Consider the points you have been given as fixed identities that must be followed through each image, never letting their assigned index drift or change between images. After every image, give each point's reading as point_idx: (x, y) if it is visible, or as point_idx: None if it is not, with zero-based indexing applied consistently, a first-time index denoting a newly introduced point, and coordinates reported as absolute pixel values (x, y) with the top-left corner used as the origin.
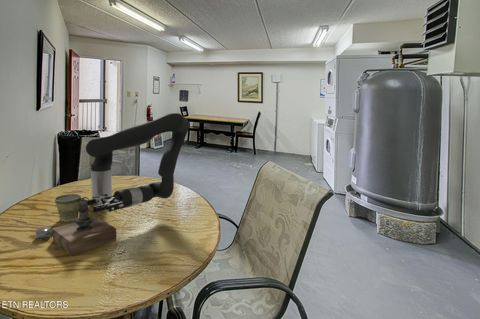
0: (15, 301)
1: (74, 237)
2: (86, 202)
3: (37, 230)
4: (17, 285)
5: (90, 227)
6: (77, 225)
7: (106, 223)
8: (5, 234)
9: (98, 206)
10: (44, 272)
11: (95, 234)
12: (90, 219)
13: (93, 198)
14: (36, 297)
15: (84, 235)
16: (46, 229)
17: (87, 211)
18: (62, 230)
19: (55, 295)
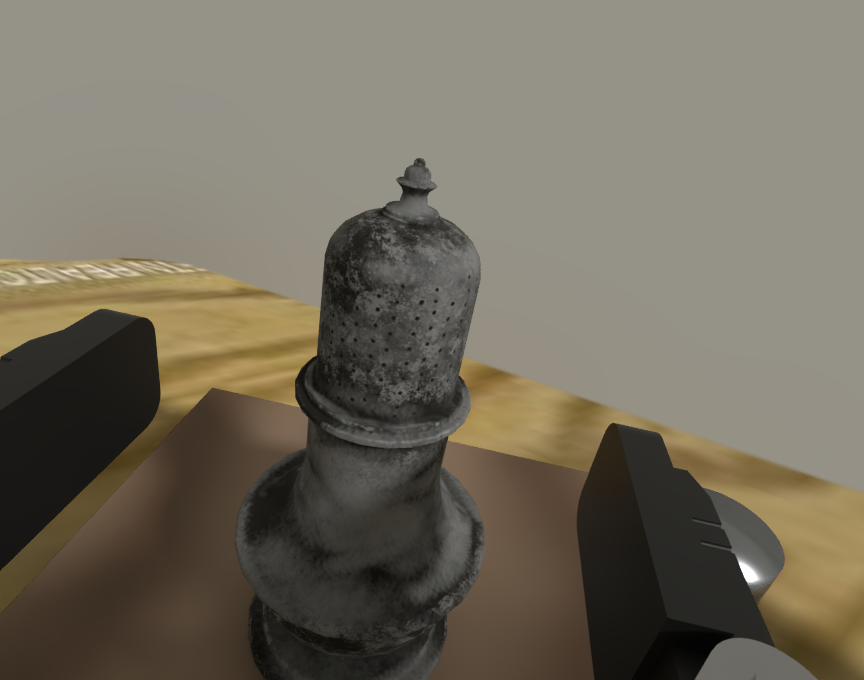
0: (166, 271)
1: (254, 439)
2: (327, 258)
3: (728, 504)
4: (246, 304)
5: (267, 632)
6: (505, 622)
7: None
8: (859, 494)
9: (39, 360)
10: (223, 358)
11: (66, 550)
12: (253, 534)
13: (741, 662)
14: (106, 285)
15: (189, 490)
16: None
17: (308, 421)
18: (488, 482)
19: (31, 297)
